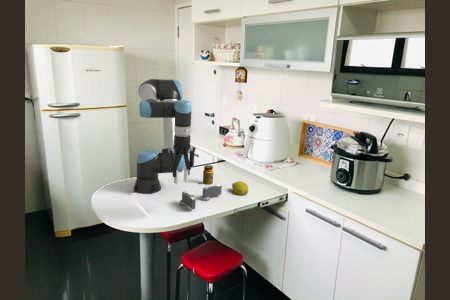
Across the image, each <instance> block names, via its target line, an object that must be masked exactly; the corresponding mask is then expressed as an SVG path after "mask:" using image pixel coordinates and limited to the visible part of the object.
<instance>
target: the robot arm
mask: <svg viewBox="0 0 450 300" xmlns="http://www.w3.org/2000/svg"><path fill="white" fill-rule="evenodd" d="M182 87H183V86H182V84H181V82H180V80H177V79H162V78H161V79H159V78H151V79H148V80H145V81H143V82H142V83H140V85H139V86H138V90H137V94H138V97H139V98H140V99H141V101H140V102H139V105H138V106H139V109H138V110H139V111H138V112H139V117H140V118H145V119H146V118H147V119H162V122H163V123H162V124H163V126H162V127H163V147H162V148H161V152H159V151H158V149H153V148H152V149H151V148H149V149H144V150H141V151H139V152H138V153H137V154H136V160H135V162H136V178H135V182H134V184H133V185H134V186H133V193H137V194H142V195H151V194H155V193H156V194H157V193H158V192H161V190H162V185H161V182H160V179H159V174H172V178H173V183H174V184H175V185H179V173H182V172H183V181H184V183H187V184H188V182H189V175H190V174H191V170H192V168H194V166H195V152H196V149H197V147H196V146H194V145H193V146H192V144H191V137H192V136H191V134H192V133H191V132H192V131H191V130H192V129H191V128H192V127H191V126H192V110H193V108H192V102H191V101H190V100H187V99H186V100H184V99H183V98H184V97H183V88H182ZM158 100H159V101H158Z"/></svg>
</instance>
